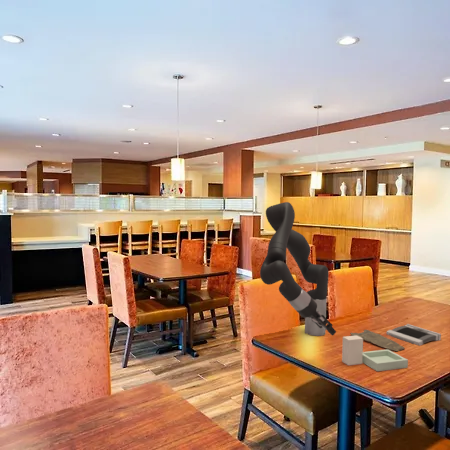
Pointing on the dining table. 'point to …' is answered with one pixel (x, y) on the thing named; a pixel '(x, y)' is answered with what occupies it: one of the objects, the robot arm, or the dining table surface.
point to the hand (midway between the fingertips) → (328, 329)
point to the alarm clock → (414, 334)
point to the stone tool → (379, 340)
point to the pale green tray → (384, 360)
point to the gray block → (352, 350)
